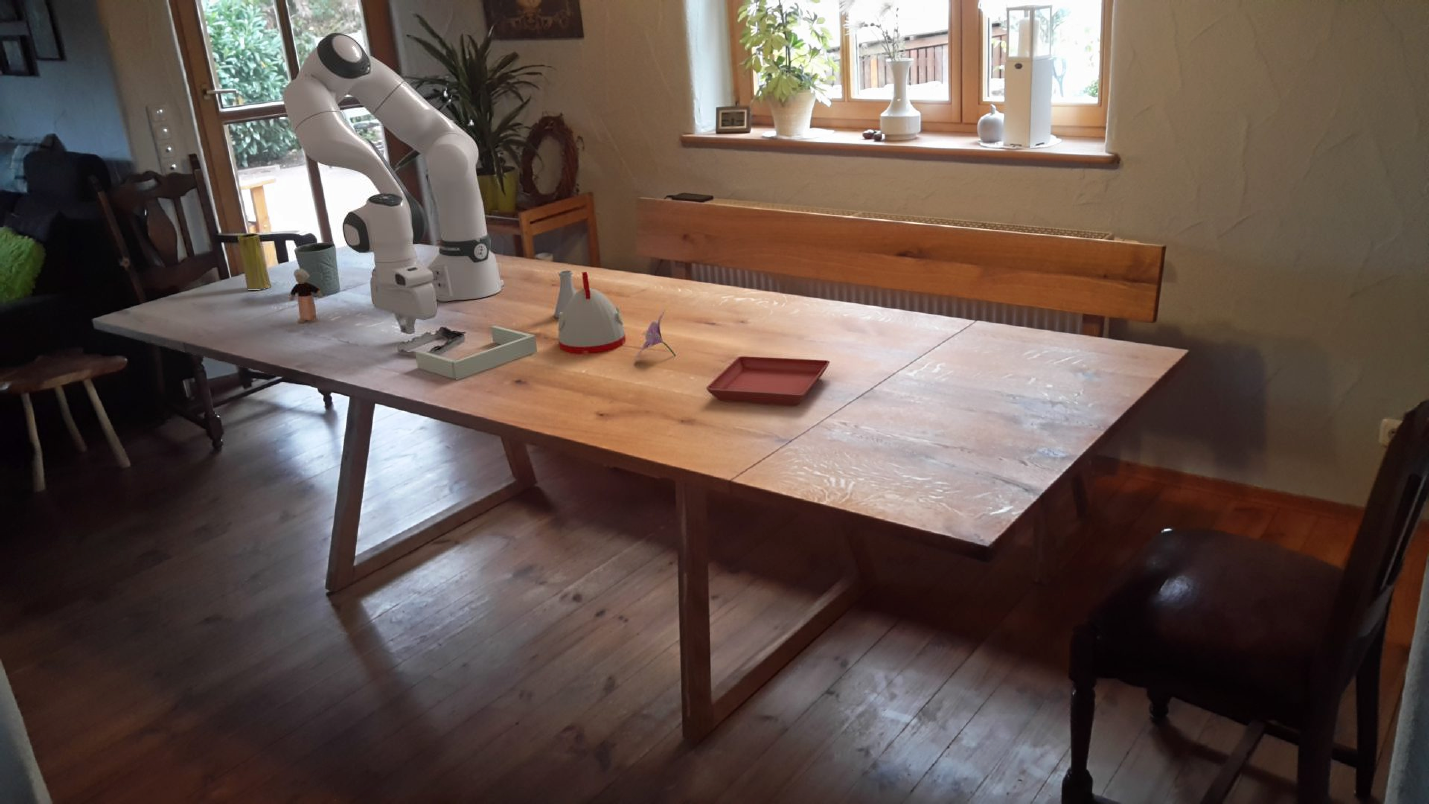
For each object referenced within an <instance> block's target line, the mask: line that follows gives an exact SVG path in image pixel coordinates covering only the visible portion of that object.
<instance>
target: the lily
mask: <svg viewBox="0 0 1429 804" xmlns="http://www.w3.org/2000/svg"><path fill="white" fill-rule="evenodd" d="M666 310H667V309H666V308H665V309H664V310H663V312H662V313H661V314H660V315H659V318H658V320H657V321H651V323H650V325H649V326H648V328H647V329H646V330H645V331H643V333H642V335H643V336H645V337H644V338H645V340H646V341H645V342H644V343H643V345H642V347H641V348H640V350H639V351H638V353H637V354H636V356H635V359H634V362H633V365H635V364H636V361H637V360H638V358H639V356H640V355H641V353H642V351H644V350H645V349H647V348H650V347H653V346H655V345H658V344H663V345H664V346H665V347H667V348H668V350H669V351H670V352H671V354H672V355H673V356H674V357H676V354H675V352H674V350H672V348H671V347H670V346H669V345H668V344H667V343H666V342H665V341H664V340H663V338H662V333H661V321H662V318H663V315H664V314H665V311H666Z"/></svg>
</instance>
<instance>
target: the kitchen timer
mask: <svg viewBox="0 0 1429 804" xmlns="http://www.w3.org/2000/svg"><path fill="white" fill-rule="evenodd" d="M581 273H582V275H581V276H582V285H583V288H582V289H580V290H578V291H576V294H575V295H573V296H572V298H571V299H570V300H569V302H568V303H567V305H566V307H565V309H564V312H560V313H559V317H558V327H557V331H558V337H557V339H558V347H560V348H559V349H560V351H562V350H563V352H565V353H568V354H572V353H573V354H572V355H591V354H592V355H593V354H601V353H607V352H611V351H613V350H616V349H618V348H620V347H622V346H624V344H625V343H626V340H627V339H626V338H627V337H626V331H625V327H624V322H623V321H624V320H623V317H622V315H621V311H620V309H619V306H617V305H615V306H614V304H613V303H612V302H611V300H610V299H609V298H608V297H607V296H606V295H605V294H603V293H602V292H601V291H600V290H597V289H594V288H591V287H590V283H589V277H588V275H589V274H588V272H587V271H582V272H581Z"/></svg>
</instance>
